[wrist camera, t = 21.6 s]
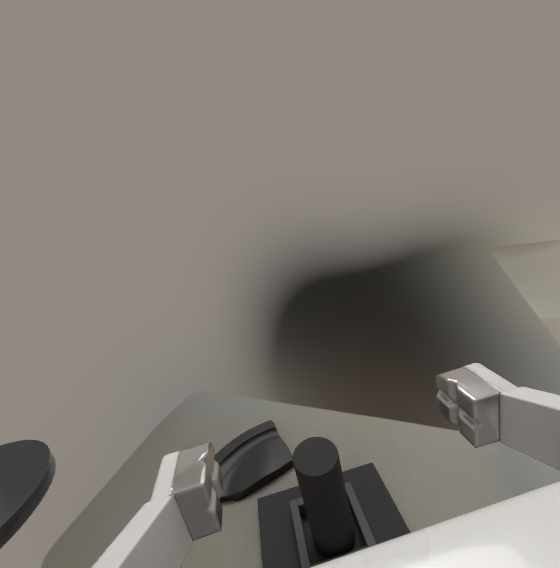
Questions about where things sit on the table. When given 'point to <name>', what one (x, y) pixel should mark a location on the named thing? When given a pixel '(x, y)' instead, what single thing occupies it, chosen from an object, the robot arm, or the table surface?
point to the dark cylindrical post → (324, 496)
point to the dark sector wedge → (252, 461)
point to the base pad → (296, 530)
